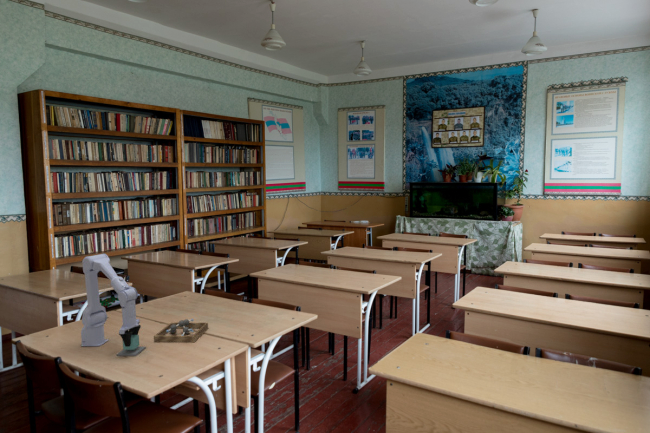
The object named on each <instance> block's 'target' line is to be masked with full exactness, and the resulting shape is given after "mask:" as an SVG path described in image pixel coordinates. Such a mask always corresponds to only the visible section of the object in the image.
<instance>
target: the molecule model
mask: <svg viewBox="0 0 650 433" xmlns="http://www.w3.org/2000/svg"><path fill="white" fill-rule="evenodd" d="M178 322H179V323H178V325H179V326H180V327H184V329H183V330H182V332H183V333H182V334H181V335H180V336H185V334H189V333H191V332H193V333H194V329H189V328H188V327H185V326H188V325H189V323H190V322H194V319H193V318H192V319H184V320H179V321H178ZM178 325H175V324H173V325H171V326H170V329H169V330H166V332H168V333H171V334H174V333H175V332H176V331H177V330H178V329H177V326H178ZM184 325H185V326H184Z"/></svg>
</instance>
